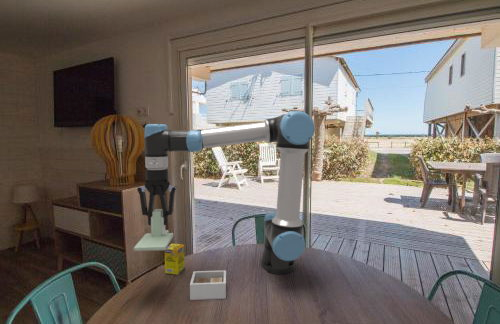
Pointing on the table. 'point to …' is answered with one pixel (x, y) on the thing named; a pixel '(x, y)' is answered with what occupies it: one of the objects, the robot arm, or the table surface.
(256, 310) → the table surface
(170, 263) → the supplement box
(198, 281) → the walnut cube
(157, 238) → the lid
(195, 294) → the tub
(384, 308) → the table surface
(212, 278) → the beech cube
